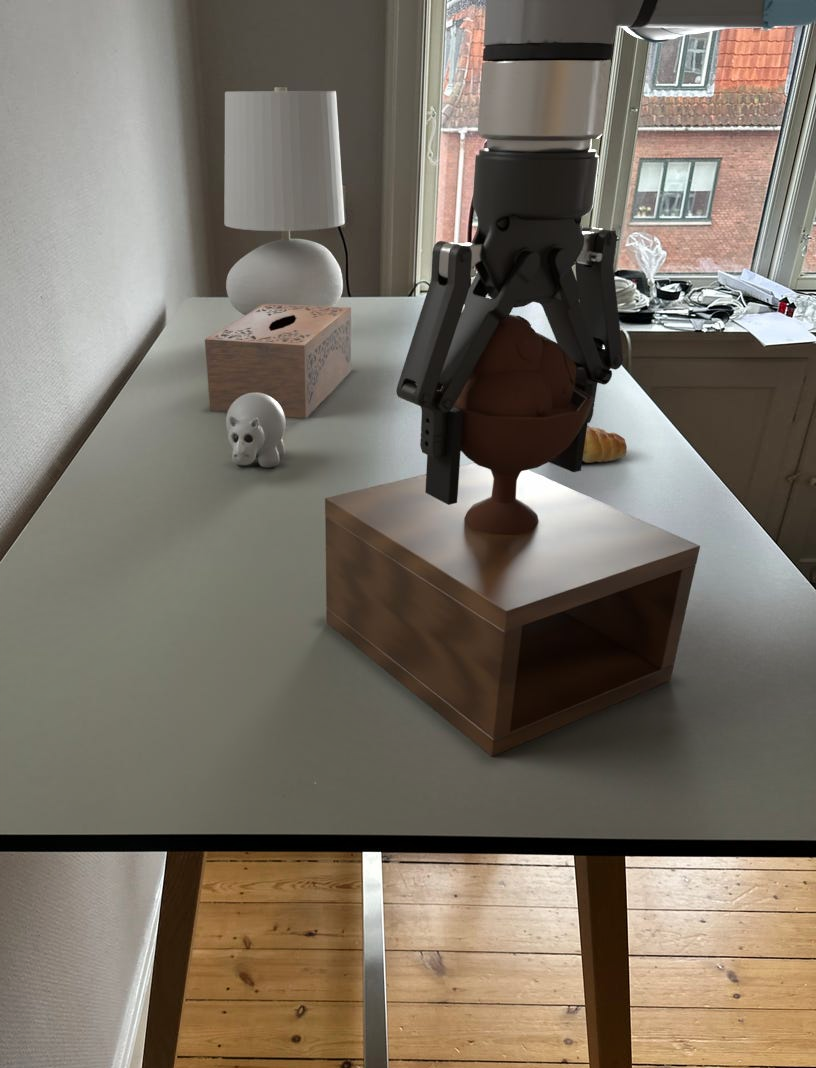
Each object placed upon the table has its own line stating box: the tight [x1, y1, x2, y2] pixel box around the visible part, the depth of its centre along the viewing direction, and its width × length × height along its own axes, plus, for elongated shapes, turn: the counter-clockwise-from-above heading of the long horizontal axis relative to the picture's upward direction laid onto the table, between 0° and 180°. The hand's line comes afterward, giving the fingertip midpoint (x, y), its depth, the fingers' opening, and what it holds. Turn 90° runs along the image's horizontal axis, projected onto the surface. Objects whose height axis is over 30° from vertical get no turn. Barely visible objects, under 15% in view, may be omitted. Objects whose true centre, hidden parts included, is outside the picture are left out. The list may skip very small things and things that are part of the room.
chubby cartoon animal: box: [225, 393, 287, 469], centre depth 109 cm, size 7×12×8 cm, turn 169°
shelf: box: [324, 462, 701, 757], centre depth 72 cm, size 22×18×12 cm
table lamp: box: [223, 86, 346, 316], centre depth 164 cm, size 23×22×40 cm
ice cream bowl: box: [440, 314, 594, 535], centre depth 65 cm, size 11×11×15 cm
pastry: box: [582, 425, 628, 463], centre depth 114 cm, size 9×7×4 cm
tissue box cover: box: [204, 304, 352, 419], centre depth 138 cm, size 26×14×10 cm, turn 165°
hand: (505, 481), depth 68 cm, fingers closed on ice cream bowl, 11 cm apart
